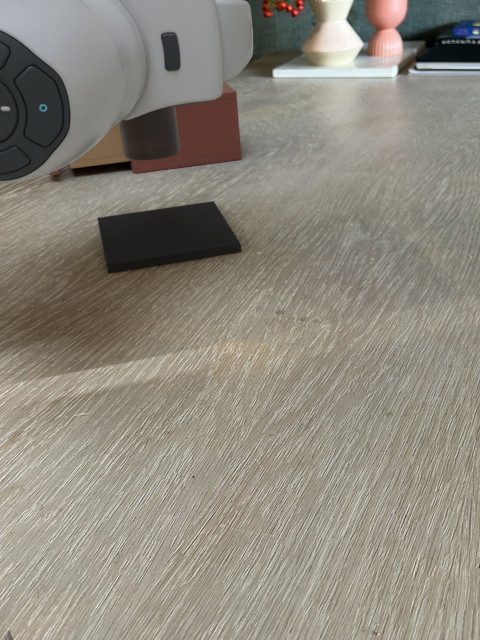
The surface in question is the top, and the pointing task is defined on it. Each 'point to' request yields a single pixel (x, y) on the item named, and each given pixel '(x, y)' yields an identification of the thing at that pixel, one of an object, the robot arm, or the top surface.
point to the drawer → (102, 152)
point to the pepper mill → (151, 135)
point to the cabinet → (202, 135)
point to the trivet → (165, 236)
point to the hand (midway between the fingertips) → (137, 25)
